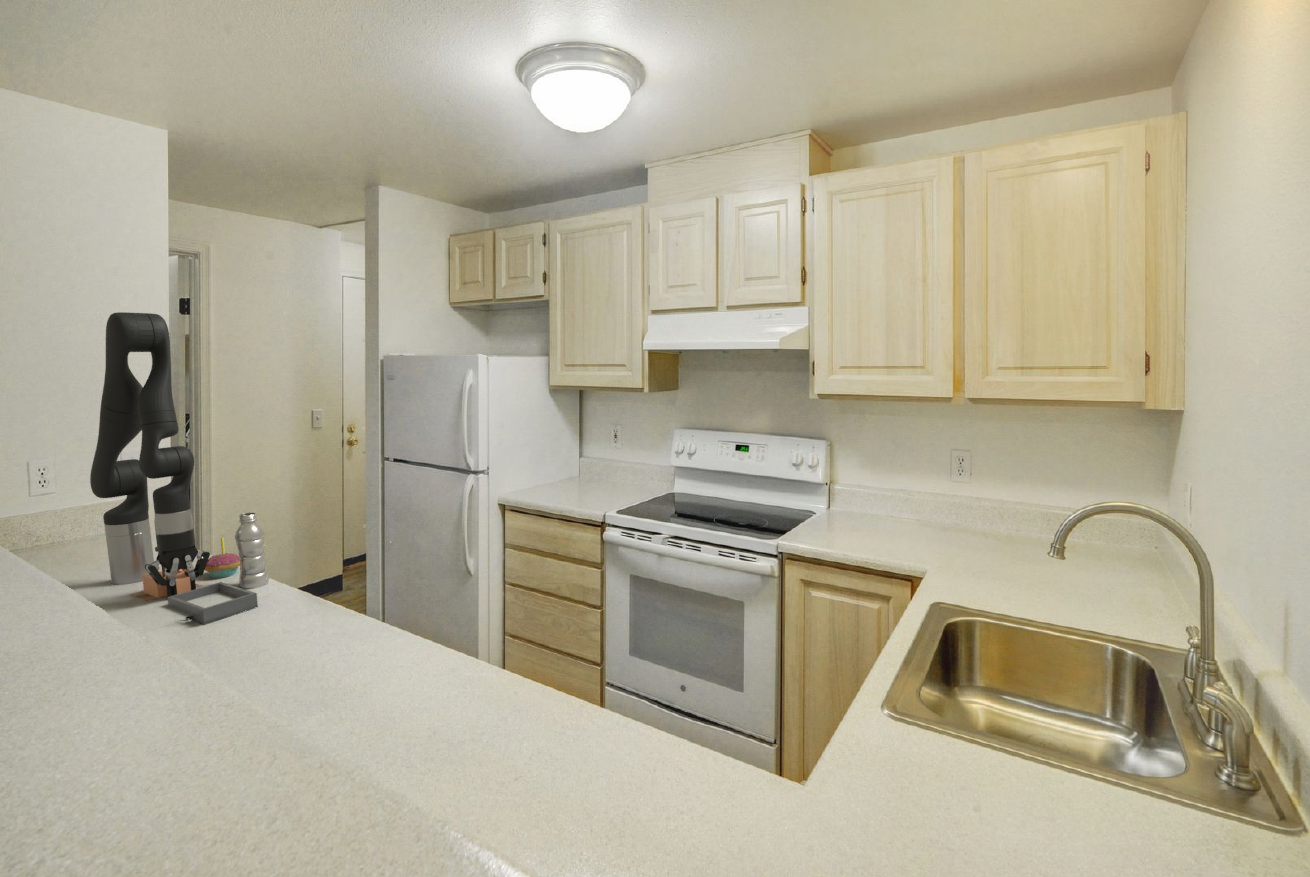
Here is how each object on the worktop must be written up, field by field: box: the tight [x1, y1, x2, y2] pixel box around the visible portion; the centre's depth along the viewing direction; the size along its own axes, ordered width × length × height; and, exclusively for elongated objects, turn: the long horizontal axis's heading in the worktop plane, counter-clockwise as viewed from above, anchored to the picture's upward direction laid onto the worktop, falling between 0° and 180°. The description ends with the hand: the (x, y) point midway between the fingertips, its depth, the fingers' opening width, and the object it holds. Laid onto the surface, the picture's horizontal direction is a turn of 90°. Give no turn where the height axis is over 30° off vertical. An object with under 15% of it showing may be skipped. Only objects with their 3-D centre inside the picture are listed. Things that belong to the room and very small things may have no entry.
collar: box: [142, 569, 191, 599], centre depth 163 cm, size 12×8×4 cm, turn 60°
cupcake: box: [204, 534, 240, 579], centre depth 176 cm, size 9×8×12 cm
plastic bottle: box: [234, 512, 270, 590], centre depth 167 cm, size 6×7×20 cm
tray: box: [166, 581, 259, 626], centre depth 155 cm, size 16×12×4 cm
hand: (182, 596), depth 161 cm, fingers closed on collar, 3 cm apart
